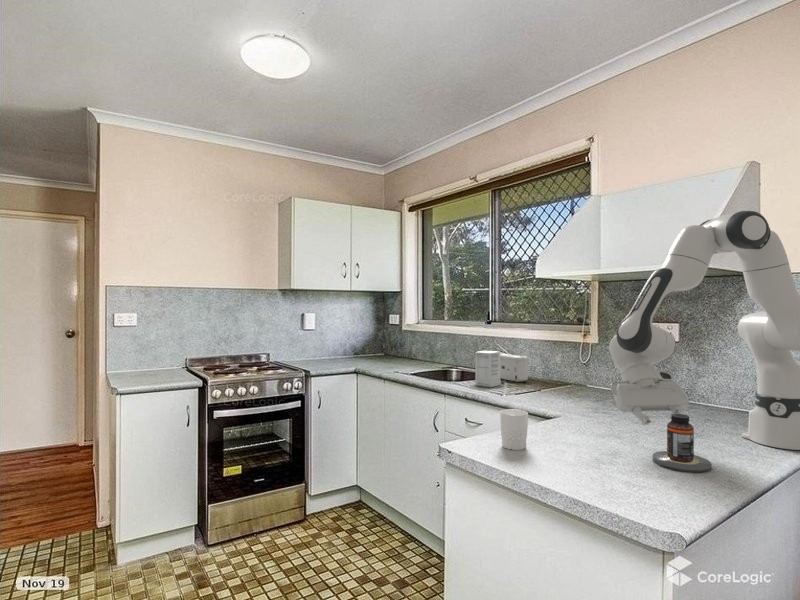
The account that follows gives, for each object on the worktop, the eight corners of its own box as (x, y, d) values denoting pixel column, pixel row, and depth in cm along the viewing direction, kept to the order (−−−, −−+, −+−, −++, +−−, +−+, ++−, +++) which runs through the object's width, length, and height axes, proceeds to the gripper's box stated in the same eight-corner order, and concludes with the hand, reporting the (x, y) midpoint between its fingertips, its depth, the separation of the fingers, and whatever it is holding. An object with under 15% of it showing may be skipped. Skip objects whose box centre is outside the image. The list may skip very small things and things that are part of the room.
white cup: (521, 441, 140) (521, 408, 140) (532, 450, 132) (532, 414, 132) (495, 443, 139) (496, 409, 139) (506, 451, 131) (506, 415, 131)
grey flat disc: (660, 452, 131) (660, 447, 131) (716, 463, 122) (716, 458, 122) (645, 463, 121) (645, 459, 121) (704, 477, 112) (704, 471, 112)
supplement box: (501, 385, 235) (501, 351, 235) (491, 387, 228) (491, 353, 228) (485, 382, 242) (485, 350, 242) (474, 385, 235) (474, 351, 235)
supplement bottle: (666, 453, 125) (666, 411, 125) (692, 457, 123) (692, 413, 123) (667, 460, 120) (667, 416, 120) (695, 464, 117) (695, 419, 117)
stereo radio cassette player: (528, 381, 246) (528, 343, 246) (517, 383, 241) (517, 344, 242) (501, 376, 264) (501, 340, 264) (490, 377, 260) (490, 341, 260)
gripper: (612, 375, 135) (632, 417, 125) (678, 374, 137) (703, 416, 127) (603, 388, 139) (622, 430, 130) (667, 386, 142) (691, 428, 132)
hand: (663, 423), depth 128 cm, fingers open, 8 cm apart
